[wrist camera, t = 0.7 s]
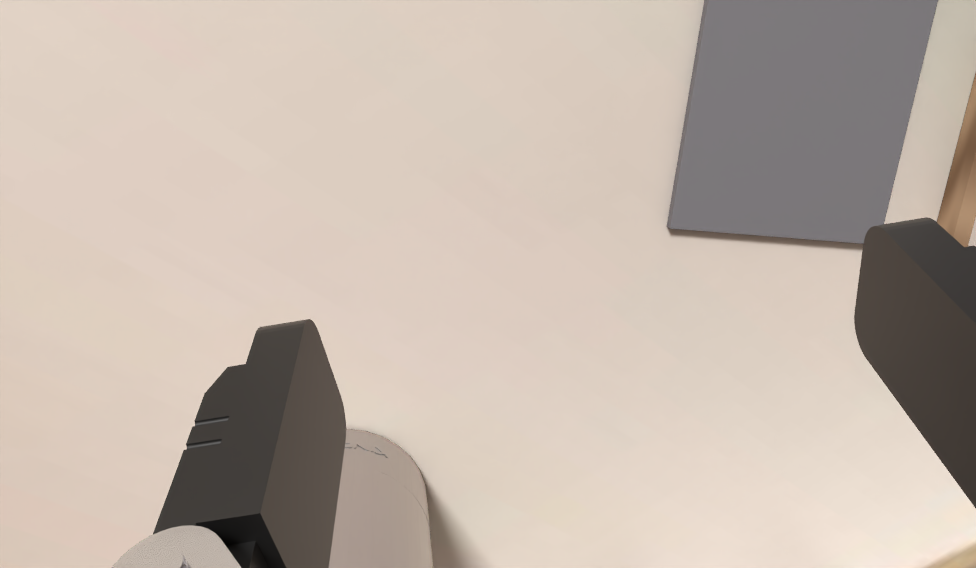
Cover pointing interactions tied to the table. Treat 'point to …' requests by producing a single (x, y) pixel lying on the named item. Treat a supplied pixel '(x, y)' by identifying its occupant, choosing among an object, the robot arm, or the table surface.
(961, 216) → the coaster frame
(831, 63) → the rubber mat
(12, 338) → the table surface
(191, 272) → the table surface
